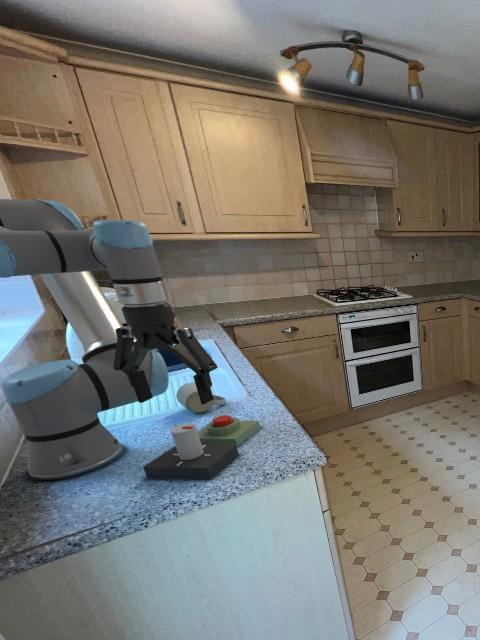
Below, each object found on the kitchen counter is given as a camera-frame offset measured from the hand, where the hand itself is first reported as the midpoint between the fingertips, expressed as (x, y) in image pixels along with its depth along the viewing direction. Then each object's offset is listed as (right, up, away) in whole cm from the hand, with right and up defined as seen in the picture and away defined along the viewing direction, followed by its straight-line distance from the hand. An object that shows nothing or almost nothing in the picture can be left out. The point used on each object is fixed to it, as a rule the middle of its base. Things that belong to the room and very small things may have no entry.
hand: (176, 401), depth 88 cm
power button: (-2, -7, +17) cm, 19 cm away
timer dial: (0, -13, +4) cm, 13 cm away
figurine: (-97, +30, +114) cm, 152 cm away
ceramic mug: (-20, -4, +34) cm, 40 cm away
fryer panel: (0, -15, +5) cm, 16 cm away
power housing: (-2, -10, +18) cm, 21 cm away
